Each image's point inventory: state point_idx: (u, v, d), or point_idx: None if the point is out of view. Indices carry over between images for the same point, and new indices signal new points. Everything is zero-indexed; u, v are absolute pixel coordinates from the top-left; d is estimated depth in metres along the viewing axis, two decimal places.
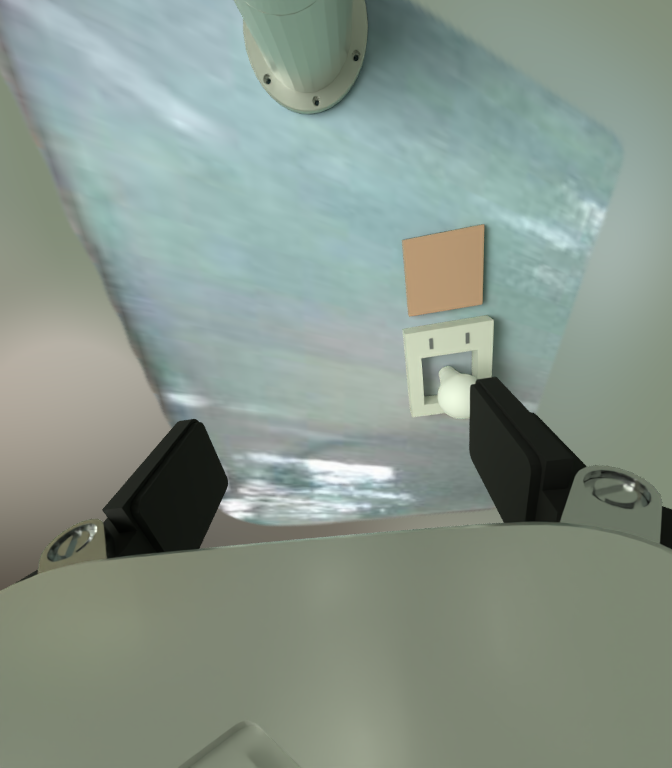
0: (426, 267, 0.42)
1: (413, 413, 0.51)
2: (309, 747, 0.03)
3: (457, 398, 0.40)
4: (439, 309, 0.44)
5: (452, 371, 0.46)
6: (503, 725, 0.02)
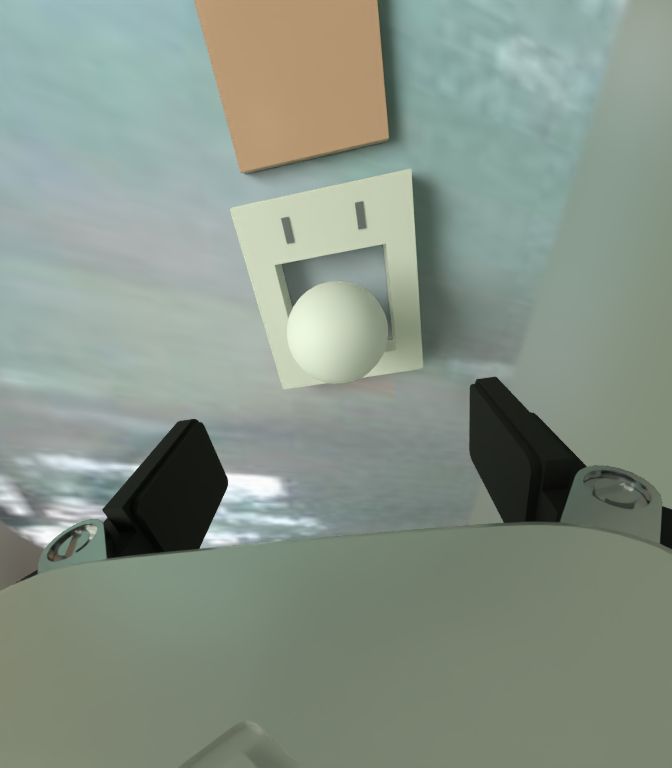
0: (250, 36, 0.18)
1: (283, 383, 0.27)
2: (309, 746, 0.03)
3: (308, 329, 0.17)
4: (300, 153, 0.21)
5: None
6: (503, 725, 0.02)
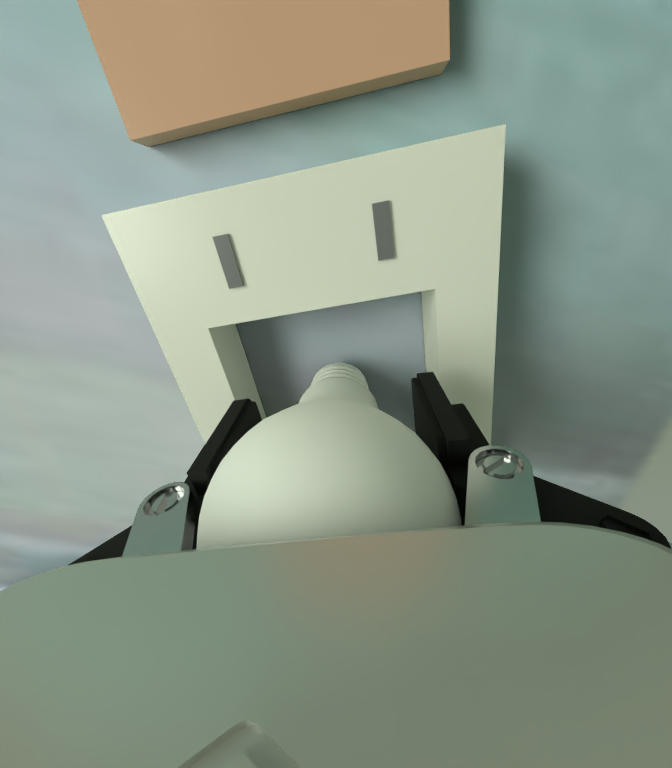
0: None
1: None
2: (309, 746, 0.03)
3: None
4: (252, 97, 0.10)
5: (332, 383, 0.11)
6: (503, 725, 0.02)
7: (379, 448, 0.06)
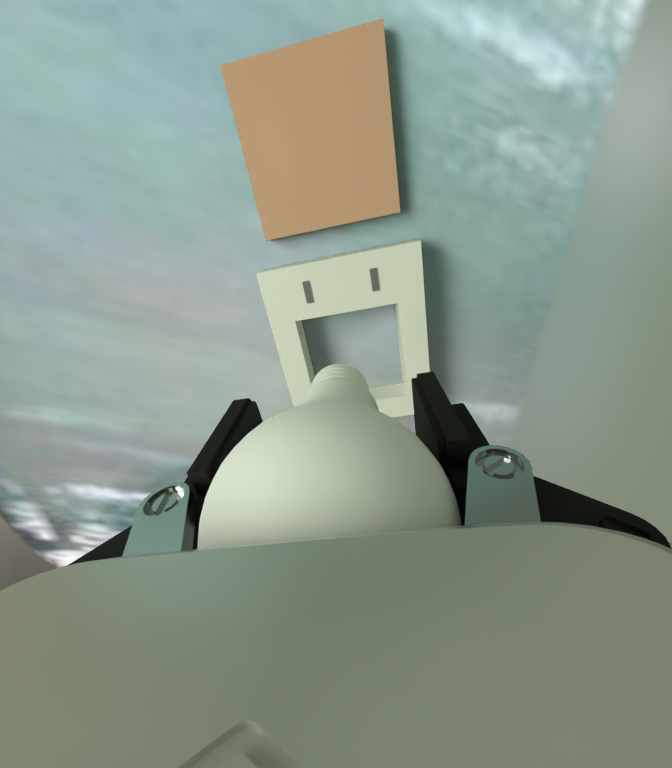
0: (278, 131, 0.21)
1: None
2: (309, 746, 0.03)
3: None
4: (320, 224, 0.23)
5: (332, 384, 0.11)
6: (503, 725, 0.02)
7: (379, 450, 0.06)
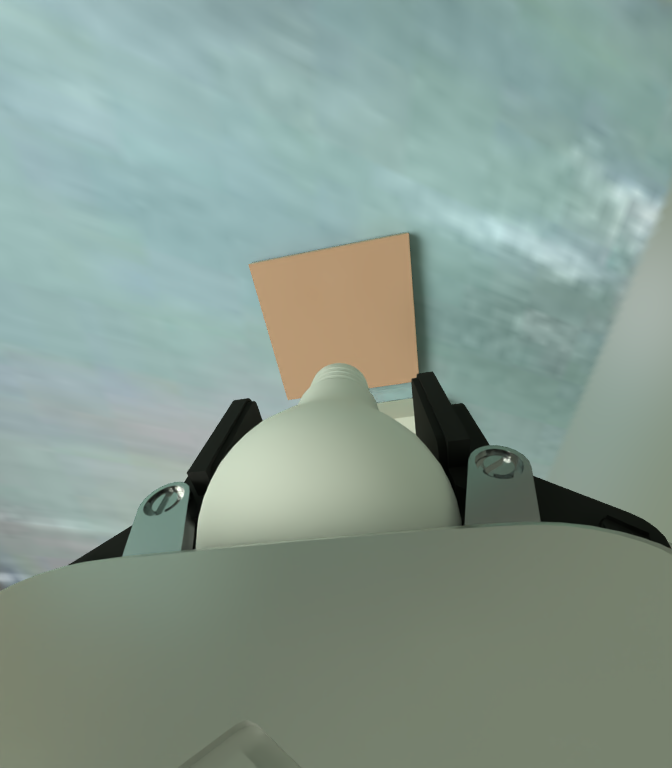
0: (303, 316, 0.21)
1: None
2: (309, 747, 0.03)
3: None
4: None
5: (332, 384, 0.11)
6: (503, 725, 0.02)
7: (379, 450, 0.06)
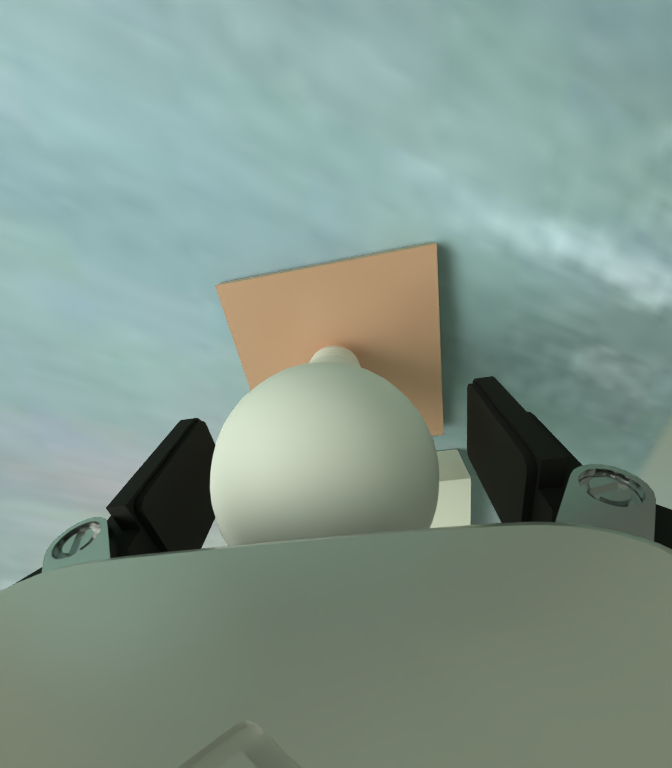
0: (291, 353, 0.16)
1: None
2: (309, 746, 0.03)
3: (246, 510, 0.06)
4: None
5: (328, 359, 0.12)
6: (503, 725, 0.02)
7: (368, 391, 0.07)
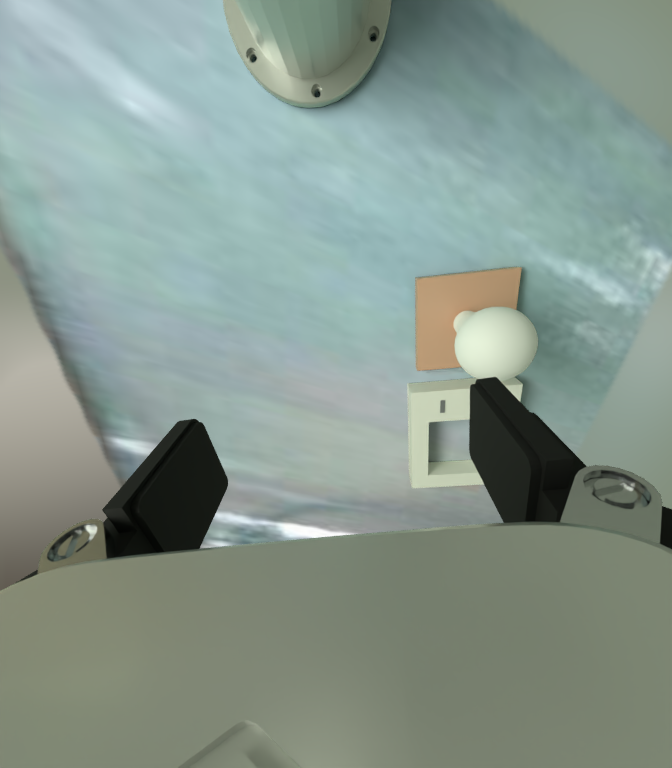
0: (443, 314, 0.33)
1: (413, 484, 0.41)
2: (309, 746, 0.03)
3: (492, 339, 0.23)
4: (455, 365, 0.35)
5: None
6: (503, 725, 0.02)
7: (520, 313, 0.24)
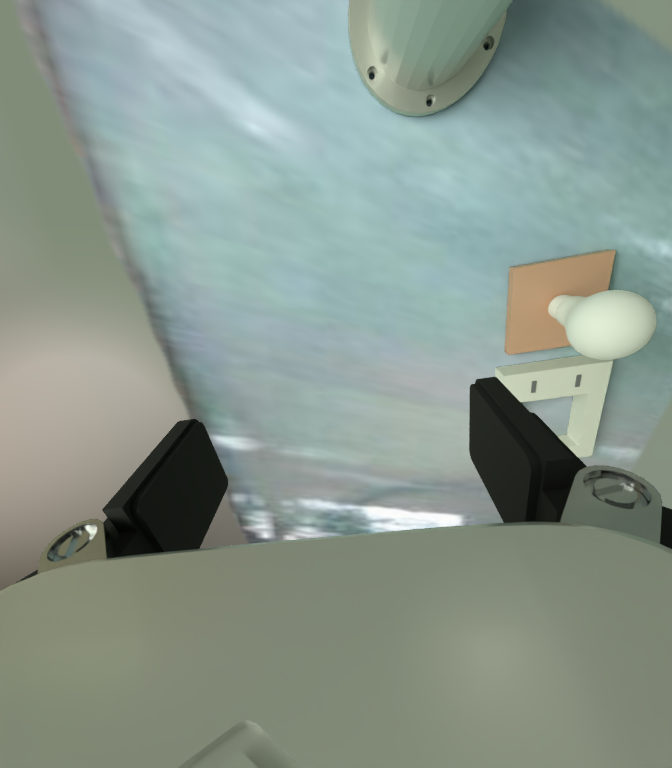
0: (536, 299, 0.35)
1: None
2: (309, 747, 0.03)
3: (617, 321, 0.26)
4: (545, 347, 0.38)
5: (579, 296, 0.32)
6: (503, 725, 0.02)
7: (638, 294, 0.26)
